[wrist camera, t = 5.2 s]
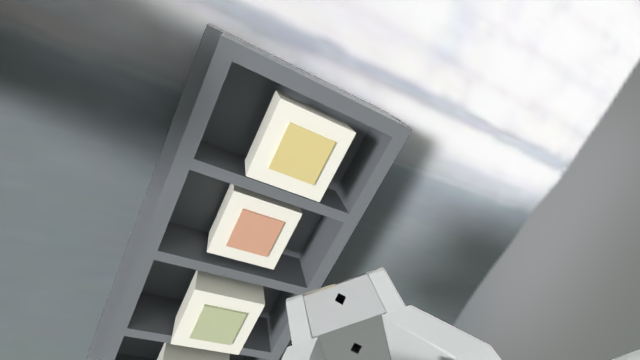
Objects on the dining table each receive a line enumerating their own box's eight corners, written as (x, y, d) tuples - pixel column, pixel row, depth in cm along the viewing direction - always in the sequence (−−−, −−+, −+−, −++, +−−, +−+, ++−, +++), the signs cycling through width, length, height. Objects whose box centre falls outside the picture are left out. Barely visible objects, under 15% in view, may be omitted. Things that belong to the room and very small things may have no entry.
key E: (312, 185, 20) (320, 203, 18) (244, 160, 18) (245, 177, 17) (344, 122, 19) (357, 134, 17) (275, 90, 17) (280, 99, 15)
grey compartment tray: (252, 359, 30) (256, 418, 26) (96, 334, 26) (68, 400, 21) (387, 113, 23) (423, 135, 19) (209, 23, 19) (202, 25, 15)
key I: (238, 328, 23) (238, 356, 21) (175, 317, 22) (169, 346, 20) (262, 281, 22) (265, 306, 20) (198, 265, 20) (194, 291, 19)
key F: (270, 249, 23) (273, 271, 21) (208, 232, 21) (206, 253, 19) (296, 197, 22) (303, 215, 20) (233, 175, 20) (233, 191, 18)
